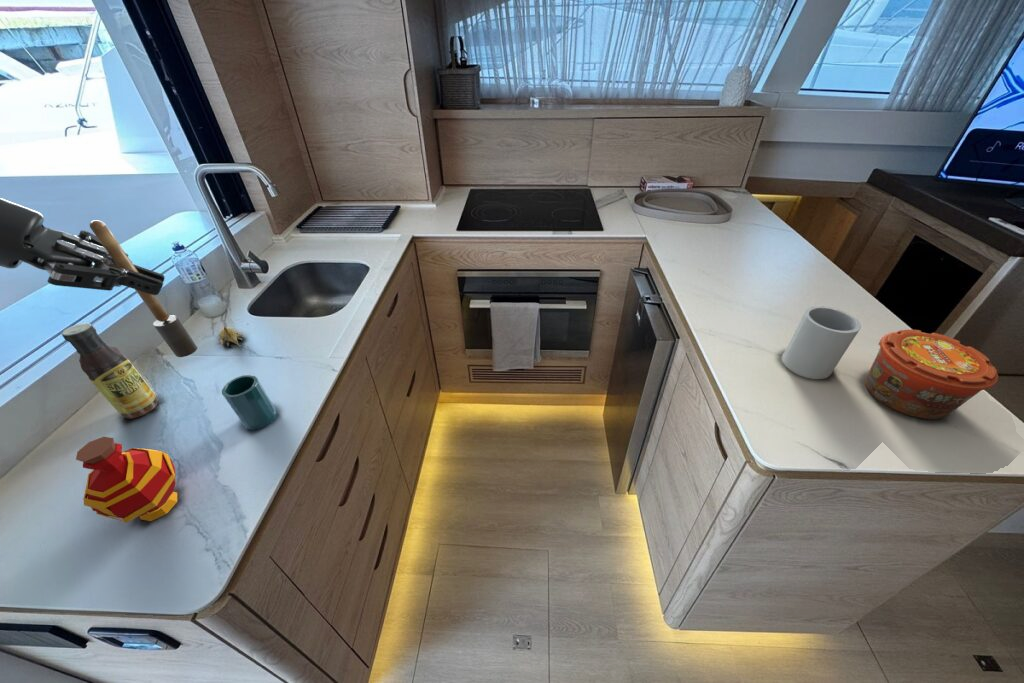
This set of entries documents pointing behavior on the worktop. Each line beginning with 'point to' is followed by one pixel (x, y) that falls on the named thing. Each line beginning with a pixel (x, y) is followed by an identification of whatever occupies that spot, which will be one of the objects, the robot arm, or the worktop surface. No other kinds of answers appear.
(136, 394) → the sauce bottle
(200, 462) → the worktop surface
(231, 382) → the teal cylindrical holder
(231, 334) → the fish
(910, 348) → the food container
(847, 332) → the cup
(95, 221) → the stick grenade
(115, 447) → the potion bottle
